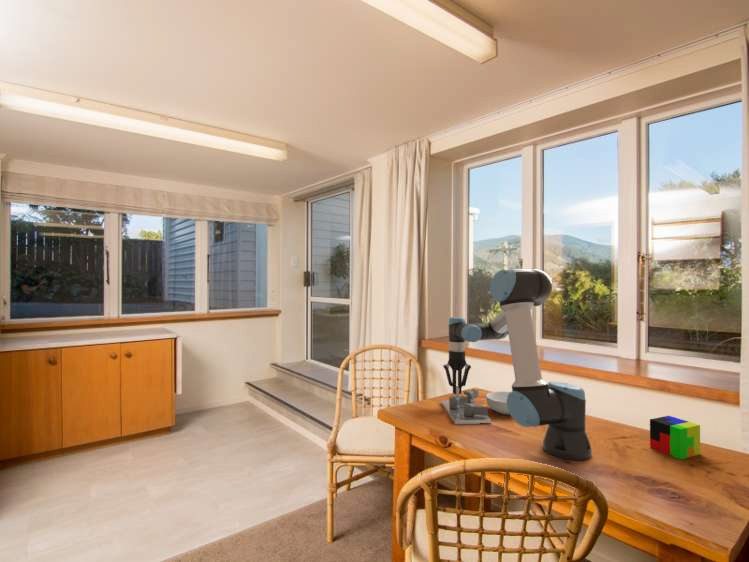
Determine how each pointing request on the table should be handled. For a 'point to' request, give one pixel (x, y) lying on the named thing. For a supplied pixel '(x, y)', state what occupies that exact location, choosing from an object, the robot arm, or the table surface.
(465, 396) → the knob
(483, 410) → the knob
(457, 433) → the table surface
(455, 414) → the level plate
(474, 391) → the knob
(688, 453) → the puzzle toy
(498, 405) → the cereal bowl
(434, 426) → the table surface
